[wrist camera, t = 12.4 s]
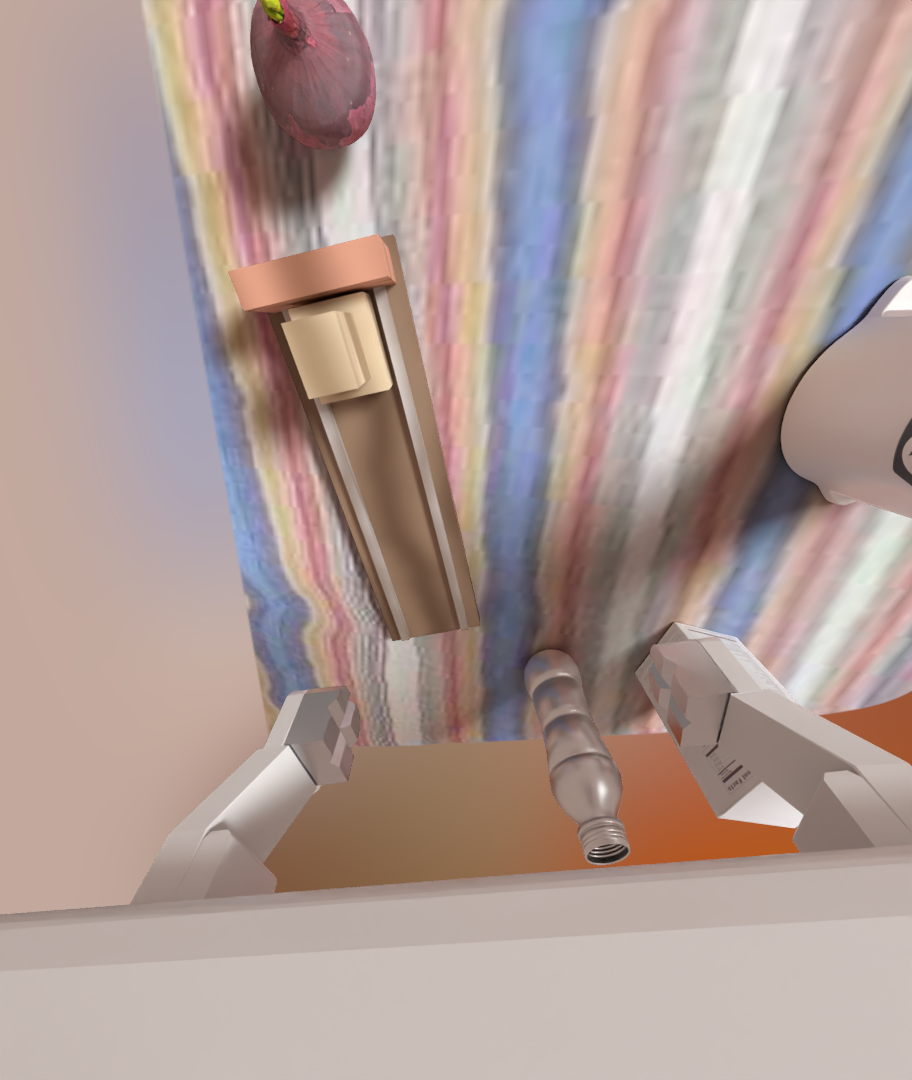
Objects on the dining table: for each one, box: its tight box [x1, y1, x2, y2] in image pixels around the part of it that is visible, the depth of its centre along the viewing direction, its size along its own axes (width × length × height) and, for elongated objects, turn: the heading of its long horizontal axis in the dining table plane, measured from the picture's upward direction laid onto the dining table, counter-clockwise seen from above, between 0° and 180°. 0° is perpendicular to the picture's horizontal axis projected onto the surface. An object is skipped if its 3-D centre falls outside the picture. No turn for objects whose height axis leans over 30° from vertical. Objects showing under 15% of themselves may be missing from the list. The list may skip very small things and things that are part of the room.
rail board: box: [228, 234, 480, 641], centre depth 33 cm, size 10×35×6 cm, turn 11°
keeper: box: [281, 292, 393, 405], centre depth 25 cm, size 5×6×8 cm
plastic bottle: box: [524, 649, 630, 865], centre depth 39 cm, size 6×7×20 cm
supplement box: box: [635, 622, 803, 828], centre depth 41 cm, size 10×9×17 cm
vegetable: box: [250, 0, 376, 150], centre depth 19 cm, size 6×6×10 cm
